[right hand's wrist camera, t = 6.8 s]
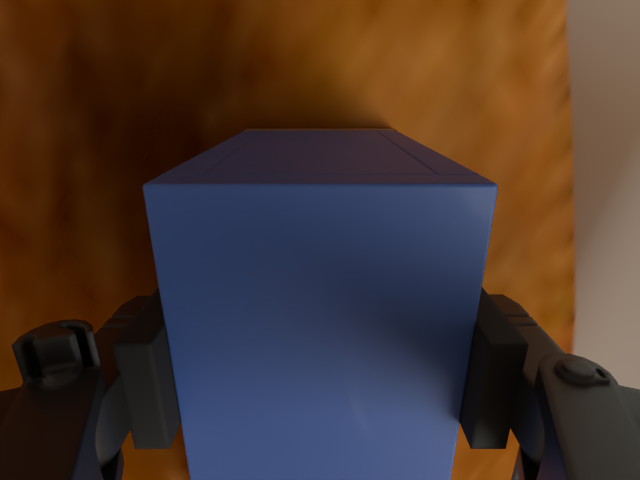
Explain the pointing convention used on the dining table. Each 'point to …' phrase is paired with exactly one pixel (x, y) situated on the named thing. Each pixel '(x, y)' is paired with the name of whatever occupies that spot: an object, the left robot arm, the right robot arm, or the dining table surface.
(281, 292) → the cabinet
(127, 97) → the dining table surface
